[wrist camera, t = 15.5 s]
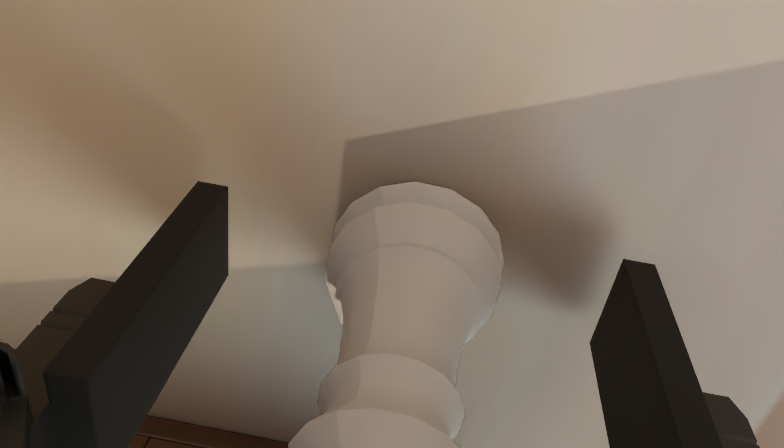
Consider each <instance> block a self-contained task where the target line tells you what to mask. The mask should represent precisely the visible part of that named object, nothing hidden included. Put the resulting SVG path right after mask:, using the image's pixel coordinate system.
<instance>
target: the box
mask: <svg viewBox="0 0 784 448" xmlns="http://www.w3.org/2000/svg"><path fill="white" fill-rule="evenodd" d="M128 448H288V443H283V442H277V441H272V440H267V439H262V438H257V437H252V436H247V435H242V434H237V433H232V432H227V431H222V430H217V429H211V428H206V427H201V426H196V425H191V424H186V423H181V422H176V421H171V420H166V419H161V418H156V417H151V416H146V418H145V419H144V421H143V423H142V425H141V426H140V428H139V430H138V431H137V433H136V435H135V437H134V438H133V440H132V442H131V443H130V445H129V447H128Z"/></svg>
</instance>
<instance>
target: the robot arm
mask: <svg viewBox="0 0 784 448" xmlns="http://www.w3.org/2000/svg"><path fill="white" fill-rule="evenodd" d="M227 276H228V187H227V186H221V185H216V184H210V183H205V182H199V181H198V182H197V183H196V184H195V186H194V187H193V188H192V189H191V190H190V192H189V193H188V194H187V195H186V197H185V198H184V199H183V200H182V201H181V203H180V204H179V205H178V206H177V208H176V209H175V210H174V211H173V213H172V214H171V215H170V216H169V217H168V219H167V220H166V221H165V222H164V224H163V225H162V226H161V227H160V228H159V230H158V231H157V232H156V233H155V235H154V236H153V237H152V238H151V240H150V241H149V242H148V243H147V244H146V246H145V247H144V248H143V249H142V251H141V252H140V253H139V254H138V255H137V257H136V258H135V259H134V260H133V262H132V263H131V264H130V265H129V266H128V268H127V269H126V270H125V271H124V273H123V274H122V275H121V276H120V278H119V279H118V280H117V281H116V282H111V281H105V280H100V279H95V278H90V279H88V280H87V281H85V282H83V283H81V284H80V285H78V286H76V287H74V288H73V289H71V290H69V291H68V292H67V293H66V294H65V295H64V296H63V298H62V299H61V300H60V301H59V302H58V303H57V304H56V305H55V306H54V308H53V311H50V312H49V313H48V314H47V315H46V316H45V318H44V319H43V320H42V321H41V324H40V325H37V326H36V328H35V329H34V330H33V331H32V332H31V333H30V334H29V335H28V336H27V338H26V339H25V340H24V341H23V342H22V343H21V344H20V345H19V346H18V348H17V349H16V350H15V349H13V348H12V347H11V346H10V345H9V344H6V343H2V342H0V448H128V447H129V445H130V443H131V442H132V440H133V438H134V437H135V435H136V433H137V431H138V430H139V428H140V426H141V425H142V423H143V421H144V419H145V418H146V416H147V414H148V412H149V411H150V409H151V407H152V406H153V404H154V402H155V400H156V399H157V397H158V395H159V393H160V392H161V390H162V388H163V387H164V385H165V383H166V381H167V380H168V378H169V376H170V374H171V373H172V371H173V369H174V368H175V366H176V364H177V362H178V361H179V359H180V357H181V356H182V354H183V352H184V350H185V349H186V347H187V345H188V343H189V342H190V340H191V338H192V337H193V335H194V333H195V331H196V330H197V328H198V326H199V324H200V323H201V321H202V319H203V318H204V316H205V314H206V312H207V311H208V309H209V307H210V305H211V304H212V302H213V300H214V299H215V297H216V295H217V293H218V292H219V290H220V288H221V286H222V285H223V283H224V281H225V280H226V278H227ZM590 346H591V352H592V357H593V362H594V367H595V373H596V378H597V383H598V388H599V394H600V399H601V404H602V409H603V414H604V420H605V425H606V430H607V435H608V441H609V446H610V448H760V447H759V446H758V445H756V442H757V440H756V438H755V436H754V433H753V431H752V429H751V426H750V424H749V422H748V419H747V418H746V417H745V416H744V414H743V413H742V412H741V411H740V410H739V409H738V407H737V406H736V405H735V404H734V403H733V402H732V401H731V399H730V398H729V397H725V396H719V395H714V394H709V393H704V392H702V390H701V387H700V384H699V382H698V379H697V376H696V374H695V371H694V368H693V366H692V363H691V360H690V358H689V355H688V352H687V349H686V347H685V344H684V341H683V339H682V336H681V333H680V331H679V328H678V325H677V323H676V320H675V317H674V315H673V312H672V309H671V307H670V304H669V301H668V298H667V296H666V293H665V290H664V288H663V285H662V282H661V280H660V277H659V274H658V272H657V269H656V266H655V265H653V264H648V263H642V262H637V261H631V260H626V259H623V261H622V264H621V266H620V269H619V271H618V274H617V276H616V279H615V281H614V284H613V286H612V289H611V291H610V294H609V296H608V299H607V301H606V304H605V306H604V309H603V311H602V314H601V316H600V319H599V321H598V324H597V326H596V329H595V331H594V334H593V336H592V338H591V341H590Z"/></svg>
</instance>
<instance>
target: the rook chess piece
mask: <svg viewBox="0 0 784 448" xmlns="http://www.w3.org/2000/svg"><path fill="white" fill-rule="evenodd" d="M503 266H504V259H503V253H502V247H501V241H500V235H499V233H498V232H497V230H496V229H495V227H494V226H493V225H492V223H491V222H490V220H489V219H488V217H487V216H486V215H485V213H484V212H483V210H482V209H481V208H480V207H478V206H477V205H475V204H474V203H472V202H471V201H469V200H467V199H466V198H464V197H463V196H461V195H460V194H458V193H456V192H455V191H453V190H452V189H448V188H443V187H439V186H434V185H429V184H425V183H420V182H408V183H401V184H393V185H386V186H380V187H378V188H376V189H374V190H373V191H371V192H369V193H367V194H366V195H364V196H362V197H360V198H359V199H357V200H355V201H353V202H352V203H351V204H350V205H349V207H348V208H347V210H346V211H345V212H344V214H343V215H342V217H341V218H340V219H339V221H338V222H337V224H336V225H335V226H334V232H333V239H332V244H331V246H330V248H329V255H328V262H327V268H326V283H327V287H328V290H329V293H330V296H331V299H332V302H333V305H334V308H335V310H336V312H337V315H338V318H339V321H340V324H341V326H342V332H341V343H340V354H339V360H338V363H337V365H336V366H335V367H334V368H333V369H332V370H331V371H330V373H329V374H328V375H327V376H326V377H325V378H324V380H323V381H322V382H321V384H320V390H319V397H318V405H319V408H320V411H321V413H322V415H320V416H319V417H317V418H315V419H313V420H311V421H309V422H307V423H306V424H305V425H304V426H303V427H302V428H301V430H300V431H299V432H298V433H297V434H296V435H295V436H294V438H293V439H292V440H291V441H290V442H289V443H288V448H459V447H458V446H457V444H456V443H455V442H454V441H453V440H452V439H453V438H455V437H456V436H457V435H458V434H459V431H460V428H461V425H462V422H463V419H464V416H465V413H464V408H463V404H462V400H461V395H460V393H459V392H458V391H457V389H456V375H457V371H458V367H459V363H460V359H461V355H462V351H463V347H464V346H465V345H466V344H467V343H468V342H469V341H470V340H471V339H472V338H473V337H474V336H475V335H476V333H477V331H478V330H479V329H480V328H481V327H482V326H483V325H484V324H485V323H486V322H487V321H488V320H489V318H490V316H491V314H492V312H493V309H494V306H495V303H496V300H497V297H498V294H499V291H500V288H501V285H502V282H501V276H500V275H501V272H502V269H503Z"/></svg>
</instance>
